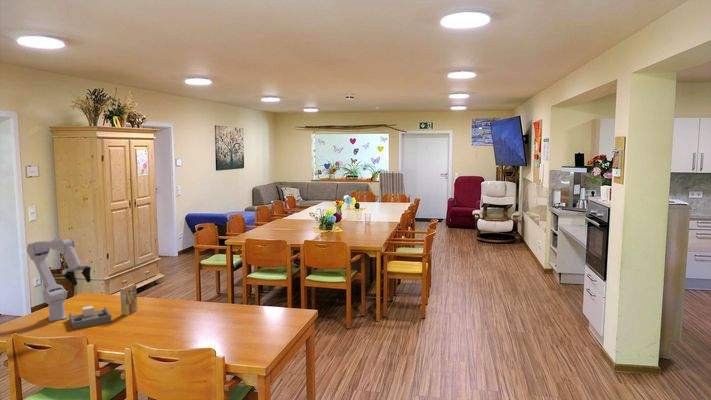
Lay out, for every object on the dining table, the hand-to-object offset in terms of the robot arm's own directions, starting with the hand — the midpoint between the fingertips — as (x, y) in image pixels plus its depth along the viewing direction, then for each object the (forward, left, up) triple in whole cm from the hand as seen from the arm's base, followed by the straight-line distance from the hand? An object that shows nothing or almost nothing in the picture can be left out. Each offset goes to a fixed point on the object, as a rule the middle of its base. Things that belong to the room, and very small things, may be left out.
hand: (82, 283), depth 256 cm
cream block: (-12, +3, -21) cm, 25 cm away
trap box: (-8, +3, -23) cm, 24 cm away
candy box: (-8, +23, -23) cm, 34 cm away
